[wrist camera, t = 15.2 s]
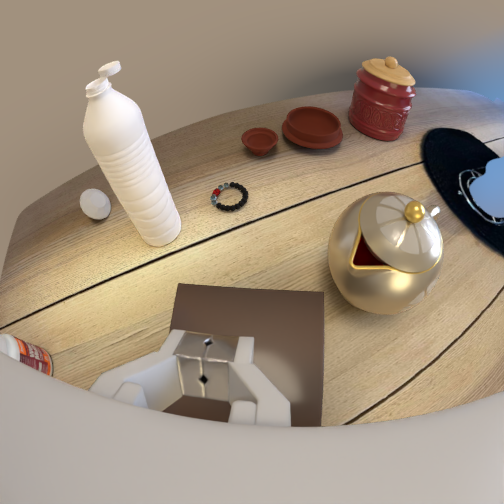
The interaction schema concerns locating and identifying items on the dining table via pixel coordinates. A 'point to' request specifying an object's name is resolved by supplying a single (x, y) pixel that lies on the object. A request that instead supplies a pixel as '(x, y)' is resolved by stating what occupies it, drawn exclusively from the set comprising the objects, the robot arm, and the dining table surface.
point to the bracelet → (227, 208)
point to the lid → (260, 343)
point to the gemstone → (95, 204)
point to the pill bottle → (26, 353)
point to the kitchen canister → (381, 99)
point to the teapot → (386, 252)
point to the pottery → (298, 131)
